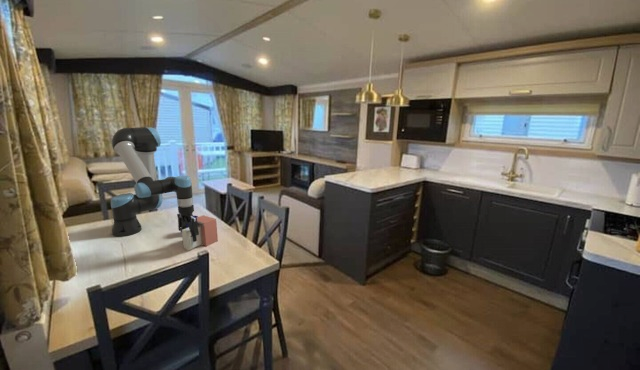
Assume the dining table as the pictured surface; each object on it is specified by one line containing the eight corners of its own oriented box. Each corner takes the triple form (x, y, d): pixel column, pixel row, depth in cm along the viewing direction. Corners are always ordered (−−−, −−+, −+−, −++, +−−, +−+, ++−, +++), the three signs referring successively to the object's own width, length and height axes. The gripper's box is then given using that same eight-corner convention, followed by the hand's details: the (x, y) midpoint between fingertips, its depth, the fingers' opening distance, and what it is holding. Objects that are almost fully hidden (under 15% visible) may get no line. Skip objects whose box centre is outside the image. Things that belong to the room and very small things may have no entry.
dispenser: (192, 242, 161) (190, 219, 157) (205, 236, 168) (203, 215, 164) (205, 246, 155) (203, 223, 152) (217, 241, 162) (216, 218, 159)
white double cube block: (183, 248, 152) (181, 229, 150) (207, 238, 165) (205, 221, 162) (188, 250, 150) (186, 231, 148) (211, 240, 163) (210, 222, 160)
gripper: (167, 203, 149) (172, 243, 155) (191, 210, 139) (195, 252, 145) (180, 200, 155) (185, 238, 161) (203, 206, 146) (207, 246, 151)
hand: (189, 244), depth 153 cm, fingers open, 7 cm apart
